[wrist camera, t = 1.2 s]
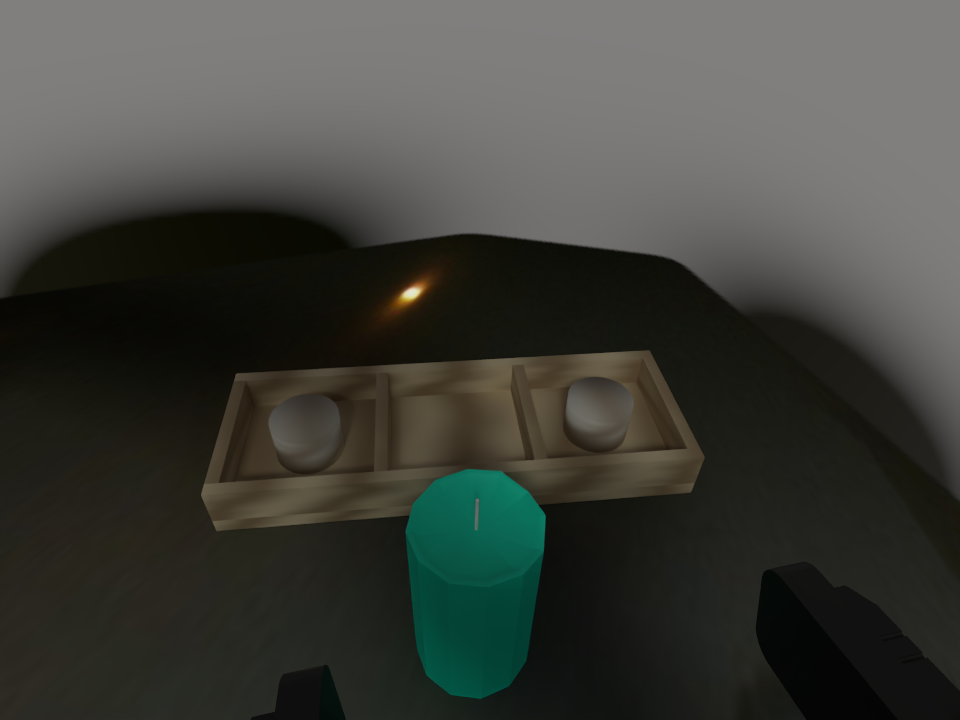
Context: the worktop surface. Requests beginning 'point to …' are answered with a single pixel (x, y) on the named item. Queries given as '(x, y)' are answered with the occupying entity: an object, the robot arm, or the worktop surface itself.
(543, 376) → the tray
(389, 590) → the worktop surface
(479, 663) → the candle
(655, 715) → the worktop surface
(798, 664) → the robot arm
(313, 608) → the worktop surface
